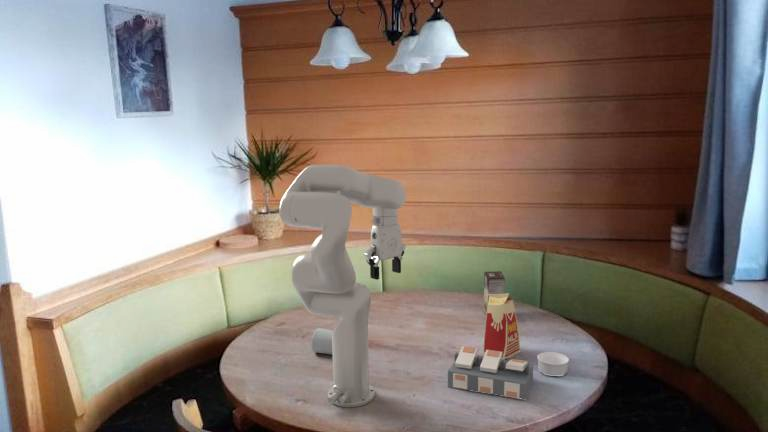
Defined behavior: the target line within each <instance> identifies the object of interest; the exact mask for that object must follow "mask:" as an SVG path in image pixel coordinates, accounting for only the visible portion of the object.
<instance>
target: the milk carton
mask: <svg viewBox="0 0 768 432" xmlns="http://www.w3.org/2000/svg"><path fill="white" fill-rule="evenodd" d="M488 295H489V302H488V308H487V316H485V327H484V337H483V338H484V339H483V351H482V353H483V355H485V352H486V350H494V351H500V352H502V358H501V359H503V360H505V359H506V358H508V357H510V356H512V355H514V354H516V353H517V354H519V353H520V352H521V344H520V336H519V335H520V334H519V333H520V332H519V327H518V321H517V314H516V309H515V304H514V299H513V298H511V297H509V295H510V292H506V293H504V294H488ZM519 351H520V352H519ZM518 352H519V353H518ZM517 354H516V355H517ZM514 356H515V355H514ZM512 357H513V356H512ZM510 358H511V357H510ZM508 359H509V358H508ZM506 360H507V359H506Z"/></svg>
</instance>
